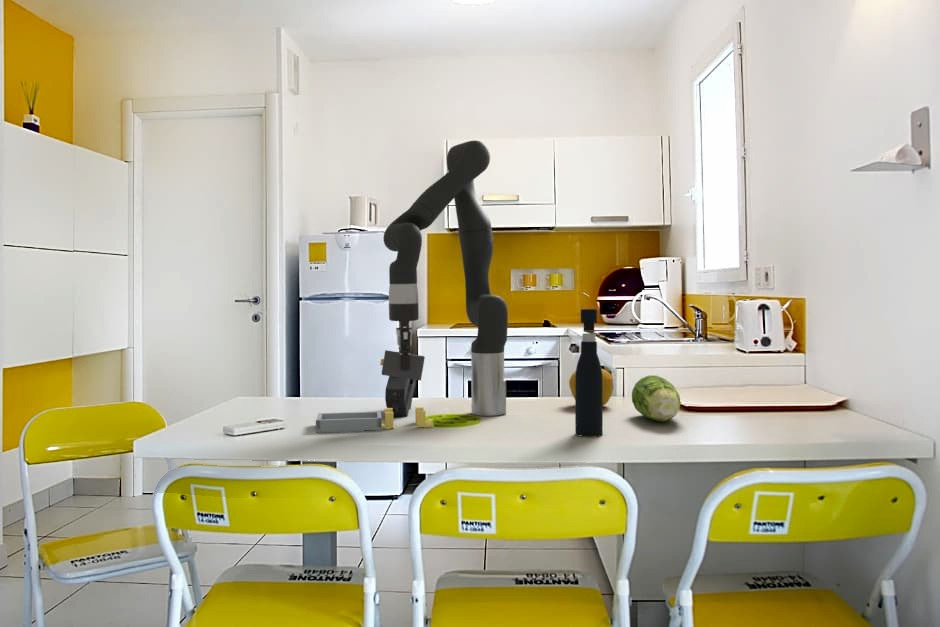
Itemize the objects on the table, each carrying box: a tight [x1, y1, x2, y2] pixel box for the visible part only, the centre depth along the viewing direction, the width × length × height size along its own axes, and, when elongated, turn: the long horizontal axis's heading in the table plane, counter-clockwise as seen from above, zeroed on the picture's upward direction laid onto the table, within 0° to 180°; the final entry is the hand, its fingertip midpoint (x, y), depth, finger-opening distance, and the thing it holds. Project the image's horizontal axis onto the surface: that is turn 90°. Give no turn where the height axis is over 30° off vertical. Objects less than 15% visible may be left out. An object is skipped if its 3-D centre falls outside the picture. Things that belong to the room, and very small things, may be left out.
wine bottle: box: [574, 308, 604, 437], centre depth 168 cm, size 6×6×30 cm
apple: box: [568, 368, 614, 406], centre depth 208 cm, size 13×13×11 cm
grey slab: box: [380, 349, 426, 381], centre depth 180 cm, size 11×4×6 cm, turn 99°
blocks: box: [382, 406, 435, 430], centre depth 180 cm, size 14×7×4 cm, turn 98°
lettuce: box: [631, 375, 682, 422], centre depth 184 cm, size 12×21×11 cm, turn 178°
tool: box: [384, 376, 417, 417], centre depth 198 cm, size 6×19×15 cm
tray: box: [315, 410, 383, 433], centre depth 178 cm, size 16×10×3 cm, turn 98°
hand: (404, 368), depth 180 cm, fingers closed on grey slab, 3 cm apart
